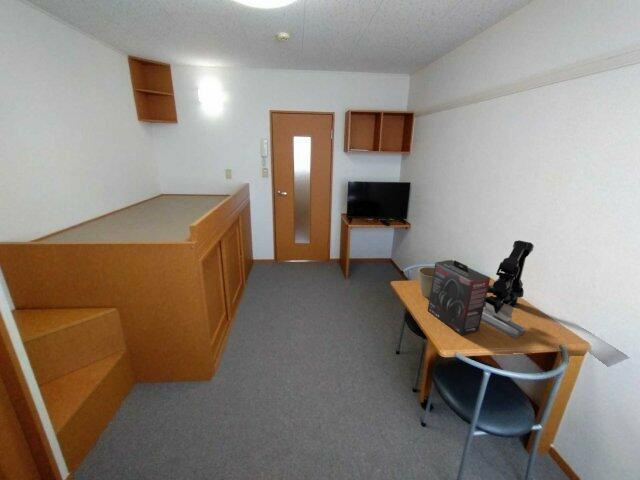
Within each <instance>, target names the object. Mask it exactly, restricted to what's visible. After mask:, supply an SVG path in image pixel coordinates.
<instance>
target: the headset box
mask: <svg viewBox="0 0 640 480" xmlns="http://www.w3.org/2000/svg"><path fill="white" fill-rule="evenodd" d="M433 268H434V273H433V280H432V286H431V292H430V298H428V299H429V300H428V306H427V312H429V313H430V314H432V315H433V316H435V317H436V318H437V319H438V320H439V321H441V322H442V323H444V324H445V325H446V326H448V327H449V328H451V329H452V330H453V331H454V332H456V333H458V335H460V336H464V335H468V334H473V333H476V332H479V331H480V326H481V322H482V321H481V318H482V313H483V309H484V304H485V300H486V295H488V293H487V291H488V287H489V285H490V283H491V282H490V281H491V277H490V276H488V275H486V274H483V273H482V272H479V271H477V270H475V269H472V268H471V267H468V265H466V264H464V263H462V262H459V261H458V260H452V259H449V260H441V261H436V262H435V263H434V267H433Z"/></svg>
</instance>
